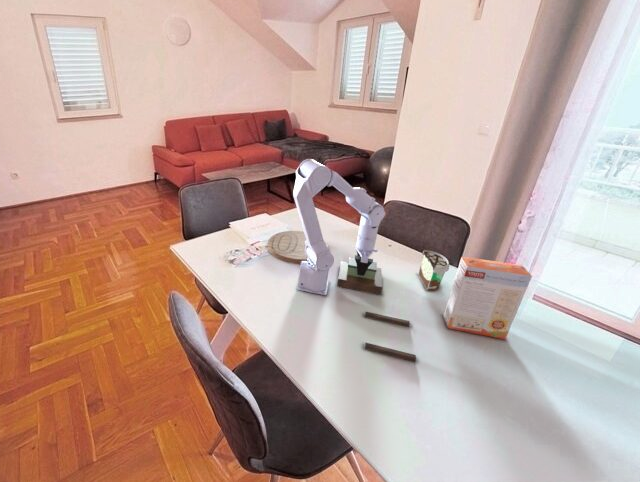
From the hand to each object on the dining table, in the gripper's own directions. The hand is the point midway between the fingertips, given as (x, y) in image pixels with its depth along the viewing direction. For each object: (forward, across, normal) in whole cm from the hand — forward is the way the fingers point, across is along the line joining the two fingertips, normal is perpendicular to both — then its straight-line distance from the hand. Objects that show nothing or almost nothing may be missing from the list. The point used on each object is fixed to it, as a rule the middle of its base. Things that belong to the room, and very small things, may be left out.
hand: (360, 270), depth 109 cm
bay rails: (+4, -25, -8) cm, 27 cm away
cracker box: (+4, -13, -31) cm, 34 cm away
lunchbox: (+1, 0, 0) cm, 1 cm away
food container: (+4, +7, -24) cm, 25 cm away
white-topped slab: (+4, 0, 0) cm, 4 cm away
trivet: (+4, +16, +25) cm, 30 cm away
